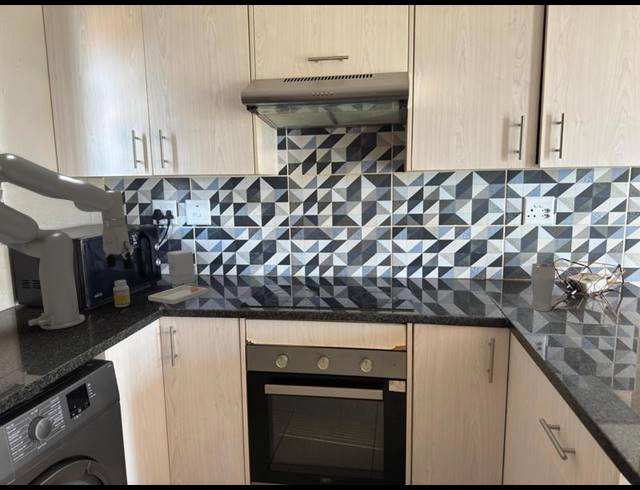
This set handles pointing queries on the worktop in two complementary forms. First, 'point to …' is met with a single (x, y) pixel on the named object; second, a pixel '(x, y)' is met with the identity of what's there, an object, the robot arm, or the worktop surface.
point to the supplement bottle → (121, 293)
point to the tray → (177, 294)
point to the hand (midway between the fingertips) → (120, 268)
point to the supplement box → (181, 267)
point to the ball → (194, 289)
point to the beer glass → (542, 285)
